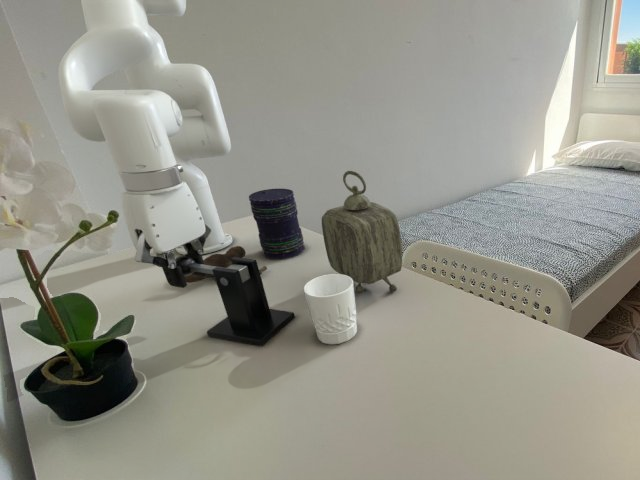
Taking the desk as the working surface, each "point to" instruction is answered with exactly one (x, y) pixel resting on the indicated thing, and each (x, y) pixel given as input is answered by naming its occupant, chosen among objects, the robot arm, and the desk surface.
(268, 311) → the bracket
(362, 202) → the tabletop clock
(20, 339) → the desk surface
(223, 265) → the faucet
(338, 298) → the white cup
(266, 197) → the dark blue cylinder
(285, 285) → the desk surface
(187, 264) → the tap lever
